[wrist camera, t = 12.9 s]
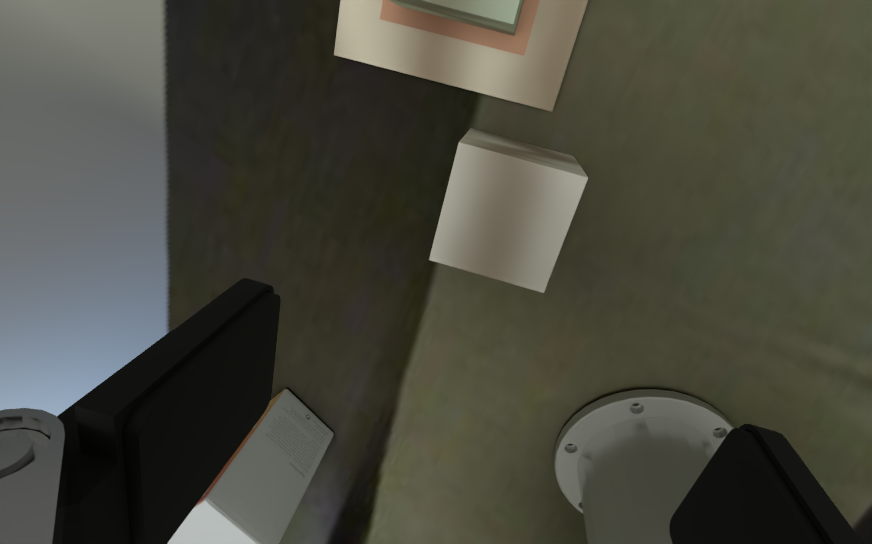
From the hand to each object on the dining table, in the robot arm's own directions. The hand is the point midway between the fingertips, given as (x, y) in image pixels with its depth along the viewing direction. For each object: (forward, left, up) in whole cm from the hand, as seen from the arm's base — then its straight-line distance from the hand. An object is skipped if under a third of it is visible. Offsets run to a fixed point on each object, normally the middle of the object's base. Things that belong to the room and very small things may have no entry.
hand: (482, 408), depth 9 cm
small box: (+12, +24, -20) cm, 33 cm away
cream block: (0, 0, -20) cm, 20 cm away
